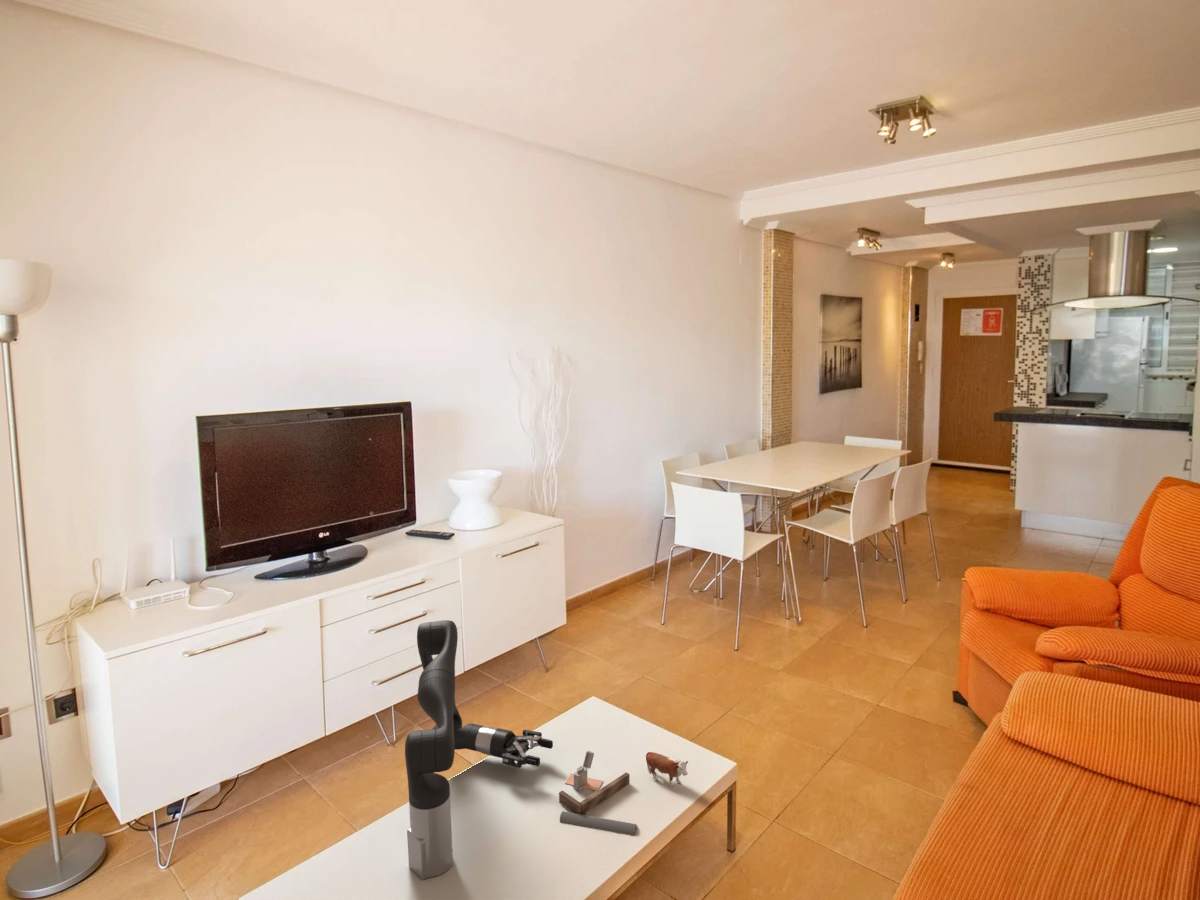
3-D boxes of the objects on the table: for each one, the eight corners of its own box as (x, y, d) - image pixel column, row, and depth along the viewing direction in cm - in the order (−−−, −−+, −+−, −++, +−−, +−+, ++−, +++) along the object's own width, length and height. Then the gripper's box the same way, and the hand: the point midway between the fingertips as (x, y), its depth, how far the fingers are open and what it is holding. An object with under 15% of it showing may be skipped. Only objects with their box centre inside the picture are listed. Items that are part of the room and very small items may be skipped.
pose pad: (597, 791, 187) (597, 790, 187) (565, 783, 191) (565, 783, 190) (603, 781, 191) (603, 781, 191) (571, 774, 195) (571, 773, 195)
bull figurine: (684, 795, 186) (685, 768, 184) (643, 776, 194) (643, 750, 192) (692, 787, 189) (693, 760, 188) (651, 769, 197) (651, 742, 196)
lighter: (578, 790, 187) (577, 763, 186) (573, 788, 188) (573, 761, 187) (594, 777, 193) (594, 751, 192) (589, 775, 194) (589, 749, 193)
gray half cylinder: (633, 838, 171) (633, 832, 170) (558, 824, 175) (558, 818, 175) (637, 826, 175) (637, 820, 174) (563, 813, 179) (563, 807, 179)
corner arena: (579, 817, 177) (579, 806, 177) (559, 802, 183) (559, 792, 182) (629, 784, 190) (629, 774, 190) (608, 771, 196) (608, 761, 195)
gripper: (482, 743, 192) (534, 755, 187) (506, 717, 205) (556, 727, 200) (483, 768, 193) (535, 780, 188) (506, 740, 207) (556, 751, 201)
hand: (546, 753), depth 194 cm, fingers open, 8 cm apart
